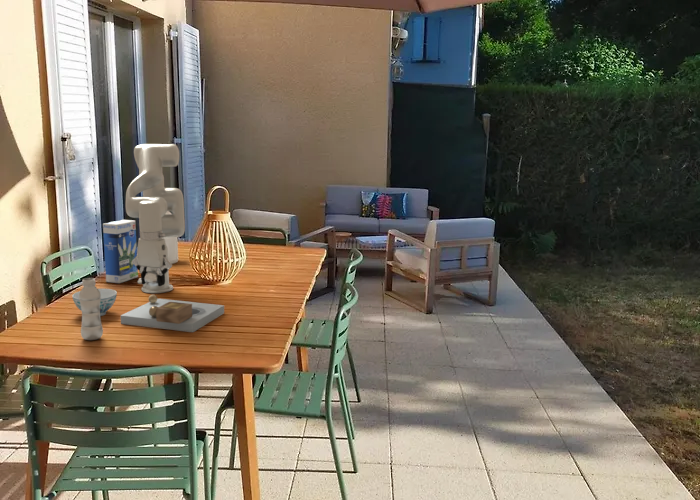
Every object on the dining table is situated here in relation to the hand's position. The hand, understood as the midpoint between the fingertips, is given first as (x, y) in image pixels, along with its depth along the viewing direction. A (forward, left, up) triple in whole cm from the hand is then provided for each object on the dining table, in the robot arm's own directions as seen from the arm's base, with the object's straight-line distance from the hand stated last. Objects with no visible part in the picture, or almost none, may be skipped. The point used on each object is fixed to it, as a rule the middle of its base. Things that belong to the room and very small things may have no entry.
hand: (153, 283), depth 232 cm
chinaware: (-21, -6, -12) cm, 25 cm away
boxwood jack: (-4, +5, -7) cm, 9 cm away
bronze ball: (+6, -10, -7) cm, 14 cm away
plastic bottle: (-5, -29, -12) cm, 32 cm away
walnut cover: (+14, -10, -9) cm, 20 cm away
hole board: (+8, -1, -12) cm, 15 cm away
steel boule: (0, 0, +2) cm, 2 cm away
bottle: (-45, +78, -12) cm, 91 cm away
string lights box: (-43, +41, -12) cm, 60 cm away
